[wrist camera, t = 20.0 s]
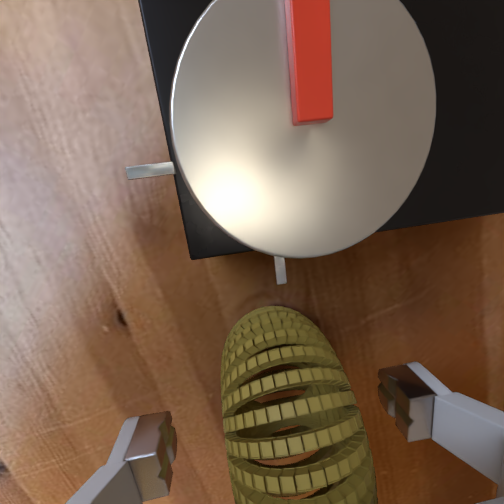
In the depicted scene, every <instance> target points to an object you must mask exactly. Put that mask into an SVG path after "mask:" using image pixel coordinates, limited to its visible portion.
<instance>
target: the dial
mask: <svg viewBox="0 0 504 504" xmlns="http://www.w3.org/2000/svg"><path fill="white" fill-rule="evenodd" d="M435 119H436V87H435V78H434V72H433V68H432V63H431V59H430V55H429V52H428V50H427V47H426V44H425V41H424V38H423V36H422V34H421V33H420V31H419V29H418V27H417V25H416V23H415V21H414V19H413V18H412V16H411V15H410V13H409V12H408V11H407V9H406V8H405V6H404V5H403V4H402V3H401V1H400V0H213V1H212V2H211V3H210V4H209V5H208V6H207V8H206V9H205V10H204V12H203V13H202V14H201V16H200V17H199V18H198V20H197V21H196V22H195V24H194V26H193V28H192V30H191V31H190V33H189V35H188V37H187V39H186V40H185V43H184V45H183V48H182V50H181V53H180V55H179V58H178V61H177V64H176V68H175V72H174V76H173V80H172V87H171V95H170V131H171V139H172V145H173V149H174V153H175V157H176V161H177V164H178V167H179V170H180V172H181V175H182V177H183V180H184V182H185V184H186V186H187V188H188V189H189V191H190V193H191V195H192V197H193V198H194V200H195V201H196V203H197V204H198V205H199V207H200V208H201V210H202V211H203V212H204V213H205V214H206V216H207V217H208V218H209V219H210V220H211V221H212V222H213V223H214V224H215V225H216V226H217V227H218V228H220V229H221V230H222V231H223V232H224V233H226V234H227V235H228V236H230V237H231V238H233V239H234V240H236V241H237V242H239V243H241V244H243V245H245V246H247V247H249V248H251V249H253V250H255V251H259V252H262V253H265V254H268V255H272V256H277V257H283V258H299V259H302V258H314V257H319V256H324V255H329V254H332V253H335V252H338V251H341V250H344V249H346V248H348V247H351V246H353V245H355V244H357V243H359V242H361V241H362V240H364V239H365V238H367V237H368V236H370V235H371V234H373V233H374V232H375V231H377V230H378V229H379V228H380V227H381V226H383V225H384V224H385V223H386V222H387V221H388V220H389V219H390V218H391V217H392V216H393V215H394V214H395V213H396V212H397V211H398V209H399V208H400V207H401V205H402V204H403V203H404V202H405V200H406V199H407V198H408V196H409V194H410V193H411V191H412V189H413V188H414V186H415V185H416V183H417V181H418V179H419V176H420V174H421V172H422V170H423V168H424V165H425V163H426V160H427V157H428V154H429V151H430V147H431V143H432V138H433V134H434V127H435Z"/></svg>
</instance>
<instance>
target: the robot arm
mask: <svg viewBox="0 0 504 504" xmlns="http://www.w3.org/2000/svg"><path fill="white" fill-rule="evenodd" d="M378 378H379V380H380V381H381V383H380V384H379V386H378V396H379V399H380V402H381V404H382V406H383V408H384V409H385V411H386V412H387V414H389V415H391V416H392V417H394V418H396V426H397V427H398V429H399V430H400V432H401V433H402V434H403V436H404V437H405V438H406V440H407V441H408V442H412V441H417V440H422V439H428V438H432V440H433V441H435V442H436V443H438V444H439V445H441V446H442V447H444V448H445V449H447V450H448V451H450V452H451V453H452V454H454V455H455V456H457V457H458V458H460V459H461V460H463V461H464V462H466V463H467V464H469V465H470V466H472V467H473V468H474V469H476V470H477V471H479V472H480V473H482V474H483V475H485V476H486V477H488V478H489V479H491V480H492V481H494V482H495V483H496V484H498V487H497V493H496V499H492V500H487V501H483V502H479V503H475V504H504V412H503V411H501V410H499V409H496V408H494V407H491V406H489V405H487V404H484V403H482V402H479V401H477V400H475V399H472V398H470V397H468V396H465V395H463V394H460V393H458V392H451V391H450V390H449V389H448V388H447V387H446V386H445V385H444V384H443V383H441V382H440V381H439V380H438V379H437V378H436V377H435V376H434V375H432V374H431V373H430V372H429V371H428V370H427V369H426V368H425V367H423V366H422V365H421V364H420V363H418V362H416V361H415V362H411V363H406V364H401V365H396V366H392V367H387V368H382V369H379V371H378ZM171 423H172V416H171V413H170V411H164V412H159V413H153V414H147V415H141V416H137V417H131V418H127V419H126V420H125V422H124V423H123V426H122V428H121V430H120V433H119V435H118V437H117V440H116V442H115V445H114V447H113V449H112V452H111V454H110V456H109V459H108V461H107V464H106V465H104V466H101V467H100V468H99V469H98V470H97V471H96V472H95V473H94V474H93V475H92V476H91V477H90V478H89V479H88V480H87V482H86V483H85V484H84V485H83V486H82V487H81V488H80V489H79V490H78V491H77V492H76V493H75V494H74V495H73V496H72V497H71V498H70V499H69V500H68V501H67V502H66V503H65V504H143V503H142V502H144V501H148V500H152V499H156V498H160V497H164V496H167V495H169V492H170V487H171V481H172V475H173V471H172V467H171V464H172V463H173V461H174V460H175V458H176V452H177V435H176V430H175V428H174V427H173V426H171Z"/></svg>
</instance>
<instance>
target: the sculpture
mask: <svg viewBox="0 0 504 504" xmlns="http://www.w3.org/2000/svg"><path fill="white" fill-rule="evenodd" d="M278 330H279V331H278ZM225 343H226V344H224V350H223V353H222V355H223V356H222V360H221V385H222V388H221V391H222V392H221V402H222V404H223V405H222V407H223V408H222V416H223V418H224V420H223V426H224V428H225V431H224V433H226V434H225V438H226V440H225V445H226V446H227V448H226V450H227V453H228V454H227V455H228V456H227V460H228V461H229V463H228V467H229V473H230V474H231V476H230V479H231V483H232V486H233V487H232V490H233V491H234V492H233V495H234V500H235V504H378V498H377V488H376V476H375V475H374V473H375V469H373V468H374V467H373V458H371V456H372V453H371V449H370V448H369V447H368V446H369V441H368V440H367V439H368V437H367V433H366V430H365V428H364V424H363V419H362V416H361V413H360V410H359V408H357V407H356V406H355V407H354V405H352V404H356V403H357V401H356V399H355V396H354V393H353V391H350V388H351V386H350V383H349V380H348V378H347V376H346V374H345V372H343V371H344V370H343V367H342V365H341V363H340V360H339V359H338V358H337V355H336V353H334V352H335V351H333V350H334V349H333V348H331V344H330V343H329V341H328V340H326V337H325V336H324V334H323V333H322V332H321V331H320V329H319V328H317V327H316V325H315V324H314V323H313V322H312V321H311V320H309V318H307V317H306V316H304V315H302V314H301V313H300V312H298V311H295V310H292V309H291V308H286V307H282V306H267V307H261V308H259V309H256V310H253V311H251V312H250V313H249V315H248V313H247V314H246V315H245V316H244V317H242V318H241V319H240V320H239V321H238V322H237V323H236V325H234V326H233V328H232V330H231V332H230V333H229V334H228V337H227V340H226V342H225ZM281 343H282V344H285V345H283V346H280V345H281ZM274 344H275V345H274ZM286 344H287V345H289V346H287V345H286ZM276 345H278V346H276ZM267 346H269V347H268V349H267ZM280 355H281V356H280ZM273 365H274V366H278V365H288V366H294V367H297V366H298V367H300V368H301V369H299V370H298V369H297V370H296V369H291V368H289V369H282V370H281V369H278V370H275V371H274V370H272V371H270V372H269V371H268V372H264V373H263V374H262V373H261V374H258V375H256V376H255V377H254V376H253V377H254V378H253V377H251V376H252V375H253V374H256V373H258V372H260V371H262V370H265V369H267V367H268V368H270V367H272V366H273ZM264 368H265V369H264ZM302 368H303V369H302ZM261 369H262V370H261ZM259 370H260V371H259ZM284 370H285V371H284ZM257 371H258V372H257ZM278 371H279V373H278ZM265 373H266V374H265ZM278 374H279V375H278ZM250 375H251V376H250ZM247 377H248V378H249V377H251V379H250V378H249V379H248V378H247ZM286 378H288V379H286ZM246 379H248V380H246ZM245 380H246V382H245ZM275 380H276V381H275ZM288 382H289V383H288ZM292 389H293V390H294V389H297V390H299V389H303V390H306V391H305V393H304V394H302V395H300V396H299V395H296V396H293V397H292V396H290V397H287V398H286V397H285V398H282V399H281V398H280V399H275V400H273V401H272V400H271V401H269V402H268V401H267V402H263V403H260V402H257V401H254V400H255V399H257V398H259V397H260V396H261V397H262V396H264V395H266V394H267V395H268V394H269V393H270V394H271V393H273V392H274V393H275V392H280V391H283V390H284V391H288V390H292ZM283 399H284V400H283ZM284 402H285V403H284ZM351 405H352V406H351ZM294 425H301V426H297V427H294V428H293V429H292V428H290V429H289V430H288V429H286V430H285V431H284V430H282V431H280V432H279V431H278V432H275V431H277V430H279V429H280V428H284V427H288V426H294ZM315 429H316V430H315ZM290 431H291V432H290ZM274 432H275V433H274ZM227 433H228V434H227ZM291 433H292V434H291ZM291 435H292V436H291ZM300 436H302V437H300ZM288 440H289V441H288ZM301 440H303V442H302V441H301ZM289 445H290V446H289ZM318 445H319V446H318ZM320 446H322V447H323V448H322V447H320ZM318 447H319V448H320V451H319V450H318V451H317V452H316V453H315V455H314V454H313V456H312V455H311V456H310V458H309V457H308V459H307V458H306V460H305V459H304V461H303V460H301V462H300V461H298V462H296V463H295V464H294V463H292V464H287V465H286V466H285V465H278V467H277V466H275V465H272V466H271V465H268V466H267V465H265V464H263V465H262V463H260V464H259V462H258V463H257V461H255V460H259V459H260V460H262V459H266V460H274V459H277V458H279V459H281V457H282V458H284V457H285V458H288V457H292V456H293V455H294V456H296V454H297V455H299V453H300V454H302V453H304V452H308V451H312V450H316V449H319V448H318ZM314 448H316V449H314ZM254 459H255V460H254ZM309 472H310V474H309ZM295 474H296V475H295ZM296 480H297V481H296ZM322 485H324V486H322ZM319 486H320V487H319ZM315 487H316V488H315ZM322 487H323V488H322ZM317 488H320V490H318V491H317V493H316V492H315V493H314V494H312V495H310V497H309V496H307V497H306V499H305V498H302V499H300V500H291V499H288V500H284V499H280V498H277V497H279V496H280V497H281V496H282V497H289V496H290V497H291V495H294V496H298V495H301V493H302V494H305V493H306V492H309V491H312V489H313V490H314V489H317ZM321 488H322V489H321ZM266 493H267V494H266ZM268 494H269V495H268ZM271 495H272V497H271ZM273 495H274V497H276V498H274V497H273ZM268 496H269V497H268ZM307 498H308V499H307ZM277 499H278V500H277Z"/></svg>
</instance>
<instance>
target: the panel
mask: <svg viewBox="0 0 504 504" xmlns="http://www.w3.org/2000/svg"><path fill="white" fill-rule="evenodd" d="M212 1H213V0H138V2H139V7H140V12H141V17H142V22H143V27H144V32H145V37H146V42H147V46H148V51H149V56H150V61H151V66H152V71H153V76H154V81H155V86H156V91H157V96H158V101H159V106H160V111H161V116H162V121H163V126H164V131H165V136H166V140H167V145H168V150H169V155H170V160H171V162H163V163H155V164H147V165H139V166H131V167H125V169H126V174H127V178H128V180H133V179H141V178H148V177H156V176H164V175H172V174H173V175H174V180H175V185H176V190H177V195H178V200H179V205H180V210H181V215H182V220H183V225H184V230H185V234H186V239H187V244H188V249H189V254H190V258H191V260H196V259H203V258H210V257H216V256H223V255H229V254H236V253H242V252H249V251H255V250H253V249H251V248H249V247H247V246H245V245H243V244H241V243H239V242H237V241H236V240H234V239H233V238H231V237H230V236H228V235H227V234H226V233H224V232H223V231H222V230H221V229H220V228H218V227H217V226H216V225H215V224H214V223H213V222H212V221H211V220H210V219H209V218H208V217H207V216H206V214H205V213H204V212H203V211H202V210H201V208H200V207H199V205H198V204H197V203H196V201H195V200H194V198H193V197H192V195H191V193H190V191H189V189H188V188H187V186H186V184H185V182H184V180H183V177H182V175H181V172H180V170H179V167H178V164H177V161H176V157H175V153H174V149H173V145H172V139H171V131H170V95H171V87H172V80H173V76H174V72H175V68H176V64H177V61H178V58H179V55H180V53H181V50H182V48H183V45H184V43H185V40H186V39H187V37H188V35H189V33H190V31H191V30H192V28H193V26H194V24H195V22H196V21H197V20H198V18H199V17H200V16H201V14H202V13H203V12H204V10H205V9H206V8H207V6H208V5H209V4H210V3H211V2H212ZM400 1H401V3H402V4H403V5H404V6H405V8H406V9H407V11H408V12H409V13H410V15H411V16H412V18H413V19H414V21H415V23H416V25H417V27H418V29H419V31H420V33H421V34H422V36H423V38H424V41H425V44H426V47H427V50H428V52H429V55H430V59H431V63H432V68H433V72H434V78H435V87H436V119H435V127H434V134H433V138H432V143H431V147H430V151H429V154H428V157H427V160H426V163H425V165H424V168H423V170H422V172H421V174H420V176H419V179H418V181H417V183H416V185H415V186H414V188H413V189H412V191H411V193H410V194H409V196H408V198H407V199H406V200H405V202H404V203H403V204H402V205H401V207H400V208H399V209H398V211H397V212H396V213H395V214H394V215H393V216H392V217H391V218H390V219H389V220H388V221H387V222H386V223H385V224H384V225H383V226H381V227H380V228H379V229H378V230H377V231H375V232H380V231H387V230H393V229H400V228H406V227H413V226H420V225H426V224H433V223H439V222H446V221H452V220H459V219H465V218H472V217H479V216H485V215H492V214H498V213H504V0H400ZM273 258H274V267H275V276H276V283H277V285H279V284H286V283H287V278H286V268H285V258H283V257H277V256H273Z"/></svg>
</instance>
